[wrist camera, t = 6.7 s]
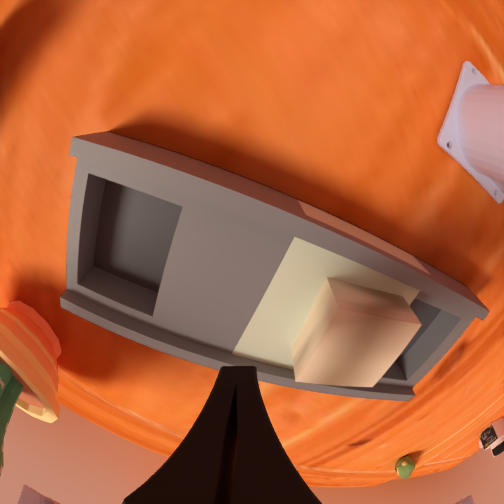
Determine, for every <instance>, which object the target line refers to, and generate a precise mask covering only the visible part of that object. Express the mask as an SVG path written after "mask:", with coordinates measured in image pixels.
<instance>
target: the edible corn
mask: <svg viewBox="0 0 504 504" xmlns="http://www.w3.org/2000/svg"><path fill="white" fill-rule="evenodd" d="M414 468H415V462H414V460H413V459H412V458H410V457H409V456H405V457H402V458H400V459H399V460H398V461H397V463H396V466H395V470H396V472H397V474H398V475H399V477H401V478H403V479H407V478H409V476H410V475H411V473H412V471H413V469H414Z"/></svg>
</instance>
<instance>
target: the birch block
mask: <svg viewBox="0 0 504 504" xmlns="http://www.w3.org/2000/svg"><path fill="white" fill-rule="evenodd" d="M421 325H422V324H421V322H420V321H419V319H418V318H417V316H416V315H415V313H414V312H413V310H412V309H411V307H410V306H409V304H408V303H407V302H406V300H405V299H404V297H403V296H399V295H395V294H391V293H387V292H383V291H379V290H375V289H371V288H367V287H363V286H359V285H355V284H351V283H346V282H342V281H338V280H334V279H330V278H326V280H325V282H324V284H323V287H322V289H321V291H320V293H319V295H318V297H317V299H316V301H315V303H314V305H313V307H312V309H311V311H310V313H309V315H308V317H307V319H306V321H305V323H304V325H303V327H302V329H301V330H300V332H299V334H298V336H297V338H296V340H295V342H294V344H293V345H292V347H291V351H292V359H293V366H294V374H295V382H304V383H313V384H324V385H337V386H354V387H373V386H374V385H375V384H376V383H377V382H378V381H379V379H380V378H381V377H382V376H383V375H384V374H385V372H386V371H387V370H388V369H389V368H390V366H391V365H392V364H393V363H394V361H395V360H396V359H397V358H398V356H399V355H400V354H401V353H402V351H403V350H404V349H405V347H406V346H407V345H408V343H409V342H410V341H411V339H412V338H413V336H414V335H415V334H416V332H417V331H418V329H419V328H420V327H421Z"/></svg>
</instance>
